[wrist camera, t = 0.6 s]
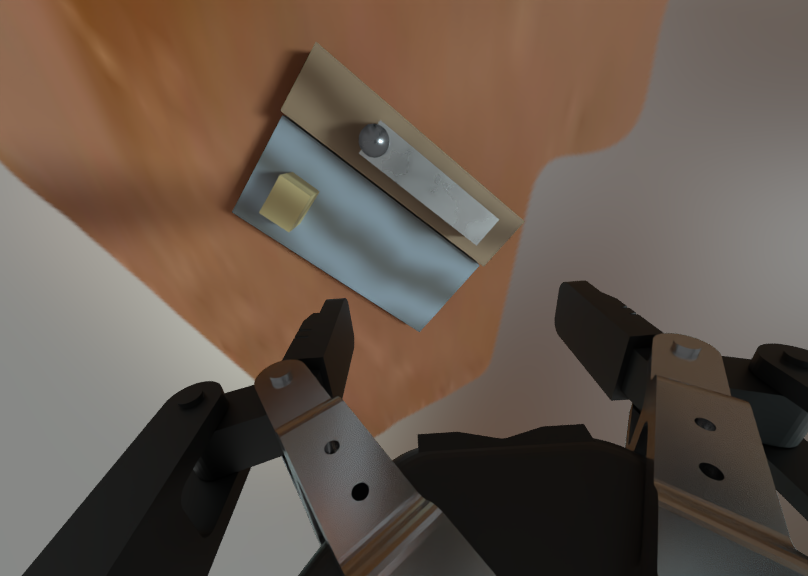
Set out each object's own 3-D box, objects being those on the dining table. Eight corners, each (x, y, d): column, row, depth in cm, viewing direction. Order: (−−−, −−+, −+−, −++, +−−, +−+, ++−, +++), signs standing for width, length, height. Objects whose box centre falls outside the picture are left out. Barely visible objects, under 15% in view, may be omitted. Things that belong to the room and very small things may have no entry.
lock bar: (356, 147, 27) (350, 147, 24) (375, 117, 26) (372, 112, 23) (469, 237, 31) (478, 247, 28) (489, 213, 30) (501, 221, 27)
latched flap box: (323, 52, 27) (307, 30, 22) (514, 215, 34) (534, 227, 29) (241, 208, 33) (213, 219, 28) (418, 323, 39) (421, 349, 34)
